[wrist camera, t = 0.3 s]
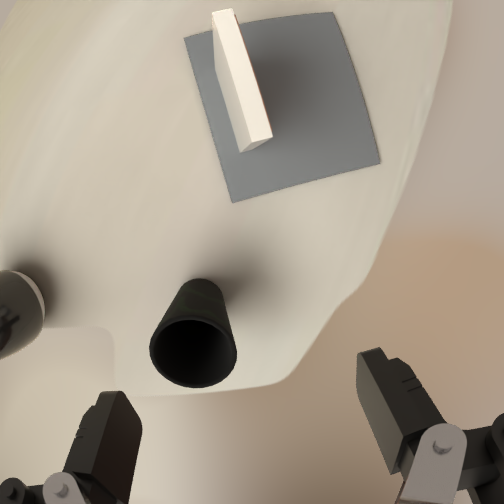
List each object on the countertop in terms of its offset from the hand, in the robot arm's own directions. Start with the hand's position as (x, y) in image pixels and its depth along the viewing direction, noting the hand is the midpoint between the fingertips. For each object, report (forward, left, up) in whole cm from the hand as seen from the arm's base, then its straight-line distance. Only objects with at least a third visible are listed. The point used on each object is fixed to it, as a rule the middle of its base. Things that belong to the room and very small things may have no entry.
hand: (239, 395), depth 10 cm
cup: (+7, -5, -27) cm, 29 cm away
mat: (-13, +11, -27) cm, 32 cm away
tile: (-13, +5, -26) cm, 30 cm away
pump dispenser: (0, -29, -27) cm, 40 cm away
